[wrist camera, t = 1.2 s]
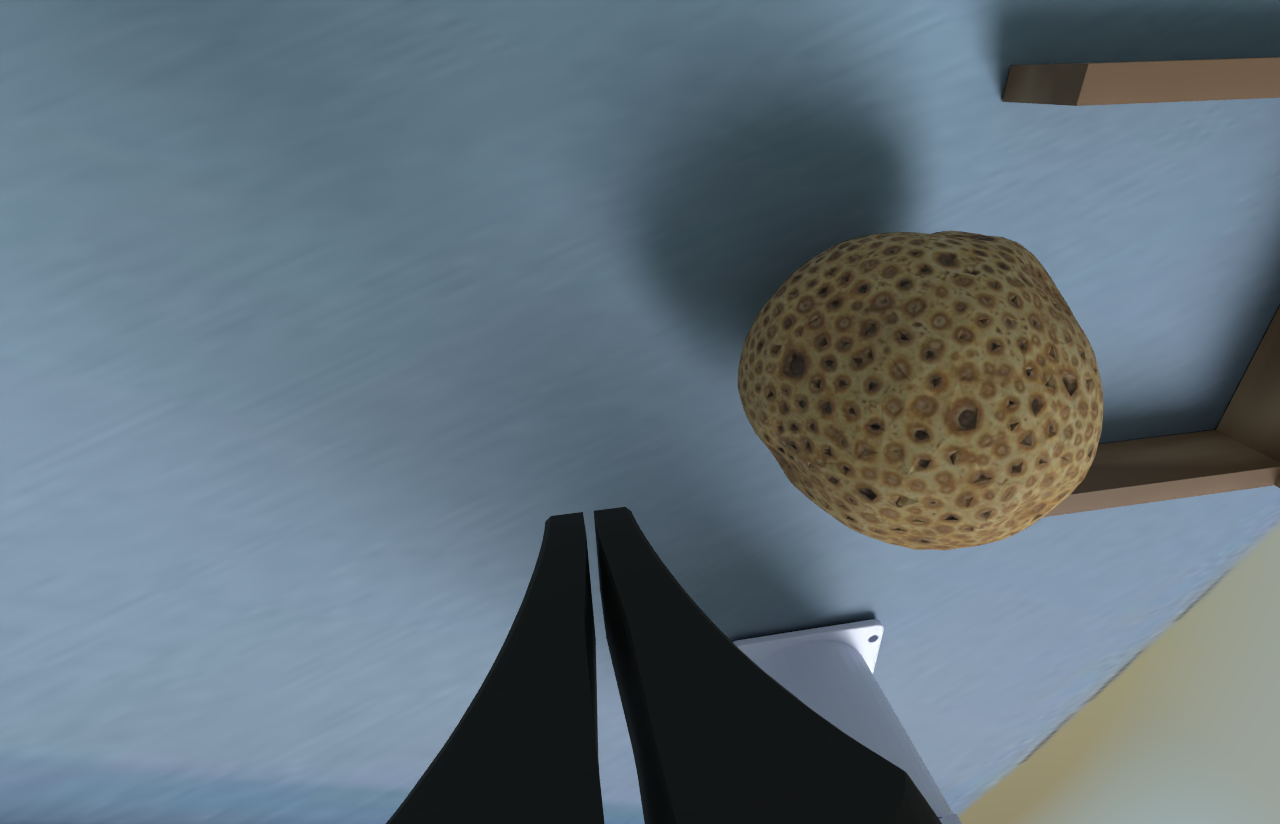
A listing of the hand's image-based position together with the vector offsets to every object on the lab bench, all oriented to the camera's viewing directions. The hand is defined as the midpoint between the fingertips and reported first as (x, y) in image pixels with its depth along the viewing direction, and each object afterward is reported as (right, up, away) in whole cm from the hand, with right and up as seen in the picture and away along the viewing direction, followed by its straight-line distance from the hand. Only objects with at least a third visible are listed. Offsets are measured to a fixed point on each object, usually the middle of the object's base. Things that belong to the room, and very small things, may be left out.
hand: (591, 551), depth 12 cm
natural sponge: (+8, +6, +10) cm, 14 cm away
